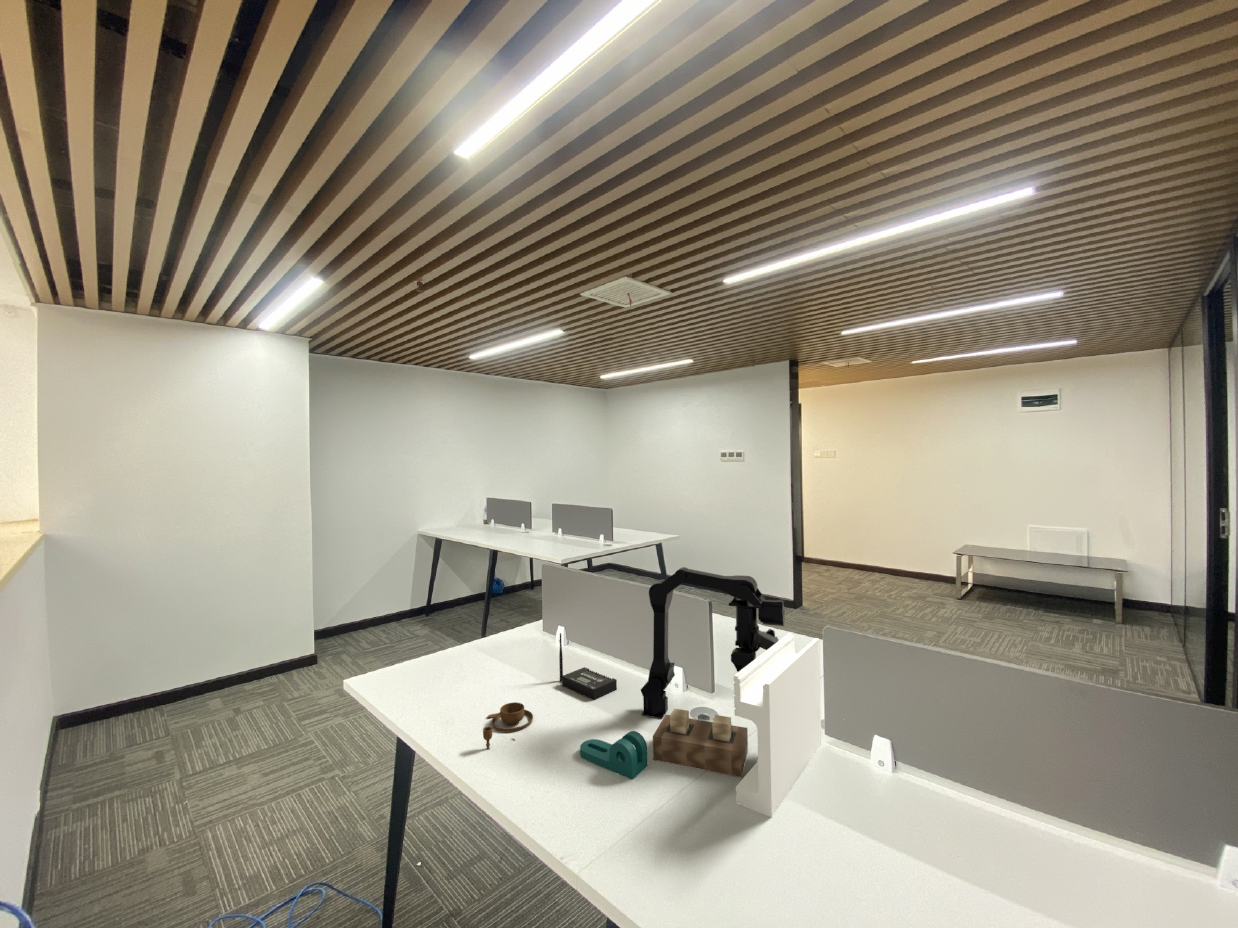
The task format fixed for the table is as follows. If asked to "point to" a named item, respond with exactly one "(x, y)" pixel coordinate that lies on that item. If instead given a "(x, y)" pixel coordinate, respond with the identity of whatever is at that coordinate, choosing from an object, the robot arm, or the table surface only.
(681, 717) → the peg
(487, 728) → the place setting
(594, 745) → the bracket
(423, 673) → the table surface
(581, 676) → the wireless controller
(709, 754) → the band block
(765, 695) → the block
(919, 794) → the table surface
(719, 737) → the peg
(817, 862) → the table surface
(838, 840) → the table surface
